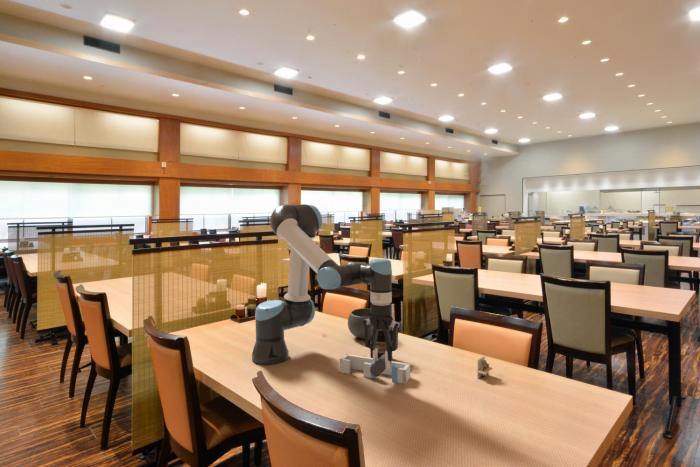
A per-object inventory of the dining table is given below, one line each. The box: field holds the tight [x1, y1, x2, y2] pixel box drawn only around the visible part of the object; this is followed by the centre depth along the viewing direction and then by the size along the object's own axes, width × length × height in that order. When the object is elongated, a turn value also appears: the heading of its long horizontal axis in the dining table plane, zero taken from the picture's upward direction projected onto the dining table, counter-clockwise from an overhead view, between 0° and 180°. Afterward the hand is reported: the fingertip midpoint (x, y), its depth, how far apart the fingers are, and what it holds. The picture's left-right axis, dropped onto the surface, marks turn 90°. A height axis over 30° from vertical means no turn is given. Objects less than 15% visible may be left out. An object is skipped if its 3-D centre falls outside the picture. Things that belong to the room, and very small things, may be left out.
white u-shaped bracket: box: [339, 353, 411, 385], centre depth 149 cm, size 26×6×6 cm, turn 66°
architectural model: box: [476, 355, 494, 379], centre depth 146 cm, size 3×7×7 cm, turn 138°
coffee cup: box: [375, 326, 393, 359], centre depth 165 cm, size 9×8×13 cm
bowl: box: [347, 307, 374, 340], centre depth 193 cm, size 18×18×13 cm
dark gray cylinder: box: [370, 354, 393, 377], centre depth 141 cm, size 12×4×4 cm, turn 156°
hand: (381, 368), depth 141 cm, fingers closed on dark gray cylinder, 4 cm apart
